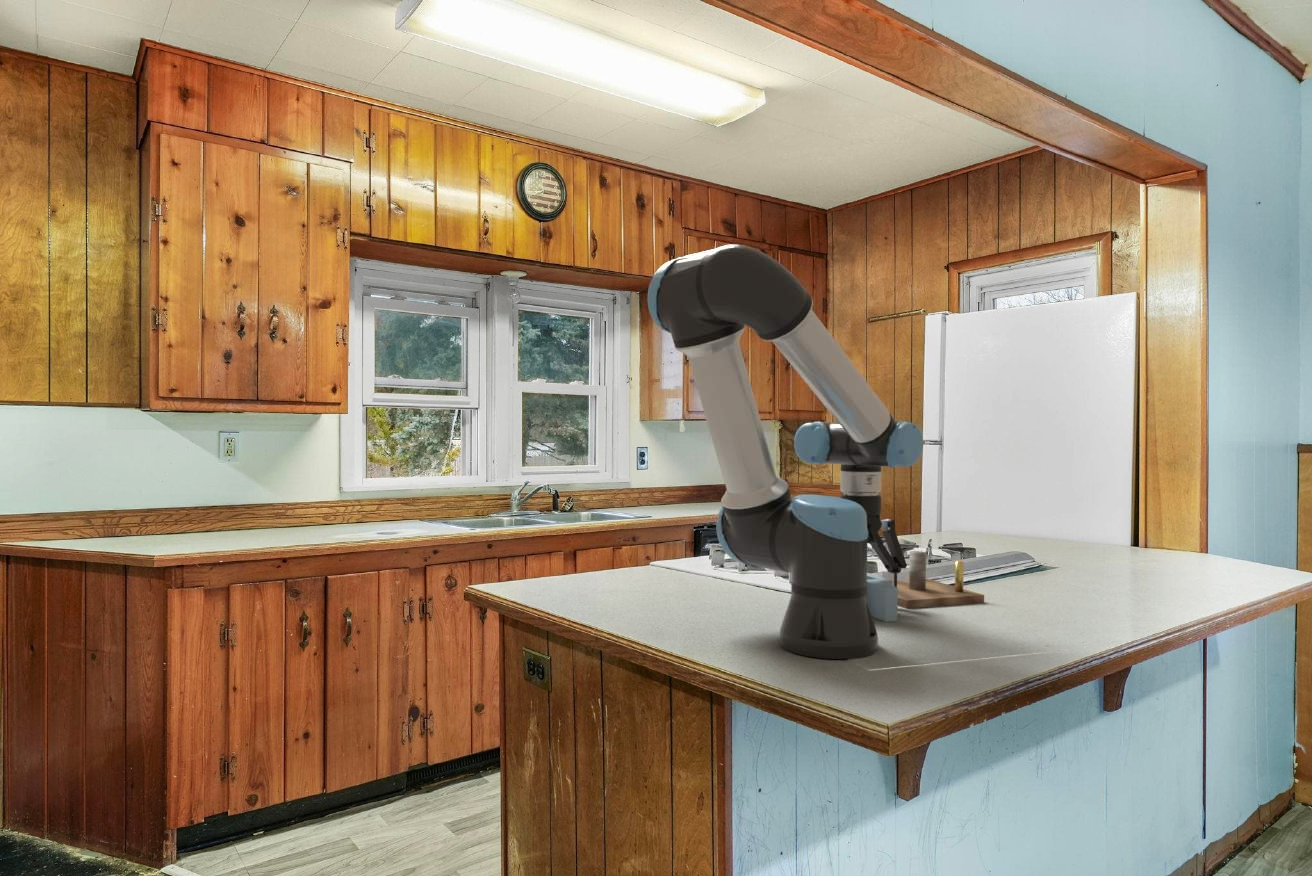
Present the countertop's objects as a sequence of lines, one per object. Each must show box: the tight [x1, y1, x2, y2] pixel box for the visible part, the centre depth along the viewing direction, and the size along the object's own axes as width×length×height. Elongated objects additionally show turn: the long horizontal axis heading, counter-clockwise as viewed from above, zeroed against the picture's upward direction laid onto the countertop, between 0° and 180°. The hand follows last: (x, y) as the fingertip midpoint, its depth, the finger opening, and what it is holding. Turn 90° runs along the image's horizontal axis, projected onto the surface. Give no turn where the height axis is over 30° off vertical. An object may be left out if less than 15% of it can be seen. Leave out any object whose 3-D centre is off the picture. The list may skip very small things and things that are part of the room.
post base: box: [897, 550, 985, 609], centre depth 165 cm, size 18×18×9 cm
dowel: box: [954, 560, 965, 592], centre depth 163 cm, size 2×2×6 cm
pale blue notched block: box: [867, 572, 898, 623], centre depth 150 cm, size 14×8×6 cm, turn 18°
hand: (859, 608), depth 153 cm, fingers open, 12 cm apart
